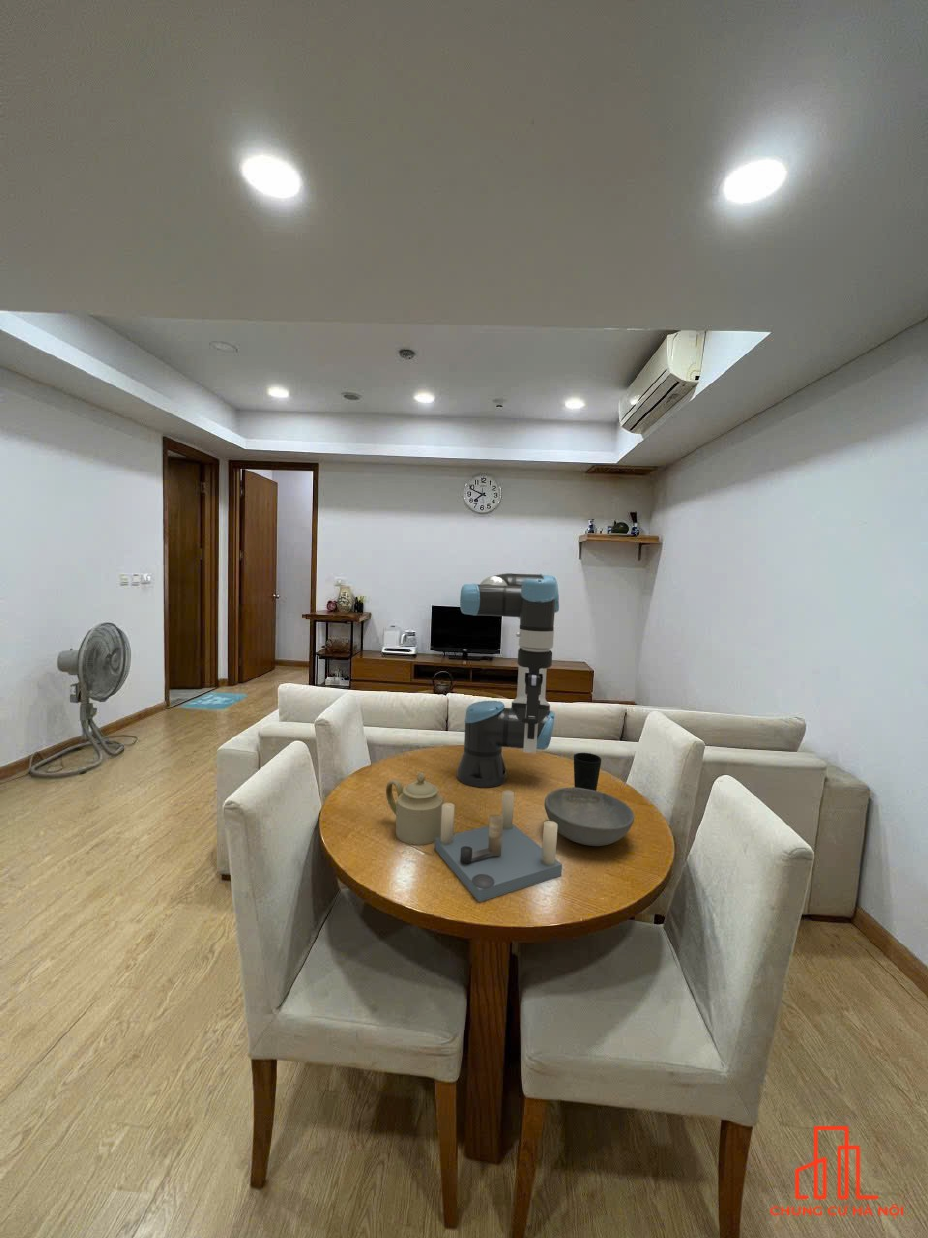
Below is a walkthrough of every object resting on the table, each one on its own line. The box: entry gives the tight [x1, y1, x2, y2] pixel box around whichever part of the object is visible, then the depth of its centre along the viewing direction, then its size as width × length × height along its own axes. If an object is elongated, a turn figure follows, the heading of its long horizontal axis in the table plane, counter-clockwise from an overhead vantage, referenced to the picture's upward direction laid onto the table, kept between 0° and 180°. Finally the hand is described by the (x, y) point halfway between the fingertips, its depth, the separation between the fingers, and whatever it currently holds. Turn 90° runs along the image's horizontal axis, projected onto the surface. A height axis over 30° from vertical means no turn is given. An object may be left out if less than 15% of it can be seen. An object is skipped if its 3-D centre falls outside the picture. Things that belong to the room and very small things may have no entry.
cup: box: [573, 752, 602, 791], centre depth 139 cm, size 8×8×12 cm
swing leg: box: [460, 814, 503, 864], centre depth 103 cm, size 10×3×8 cm, turn 118°
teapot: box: [385, 772, 444, 846], centre depth 117 cm, size 15×11×15 cm
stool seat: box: [433, 790, 563, 903], centre depth 106 cm, size 20×20×11 cm
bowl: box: [544, 787, 635, 847], centre depth 119 cm, size 21×21×8 cm
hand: (530, 741), depth 111 cm, fingers open, 13 cm apart
